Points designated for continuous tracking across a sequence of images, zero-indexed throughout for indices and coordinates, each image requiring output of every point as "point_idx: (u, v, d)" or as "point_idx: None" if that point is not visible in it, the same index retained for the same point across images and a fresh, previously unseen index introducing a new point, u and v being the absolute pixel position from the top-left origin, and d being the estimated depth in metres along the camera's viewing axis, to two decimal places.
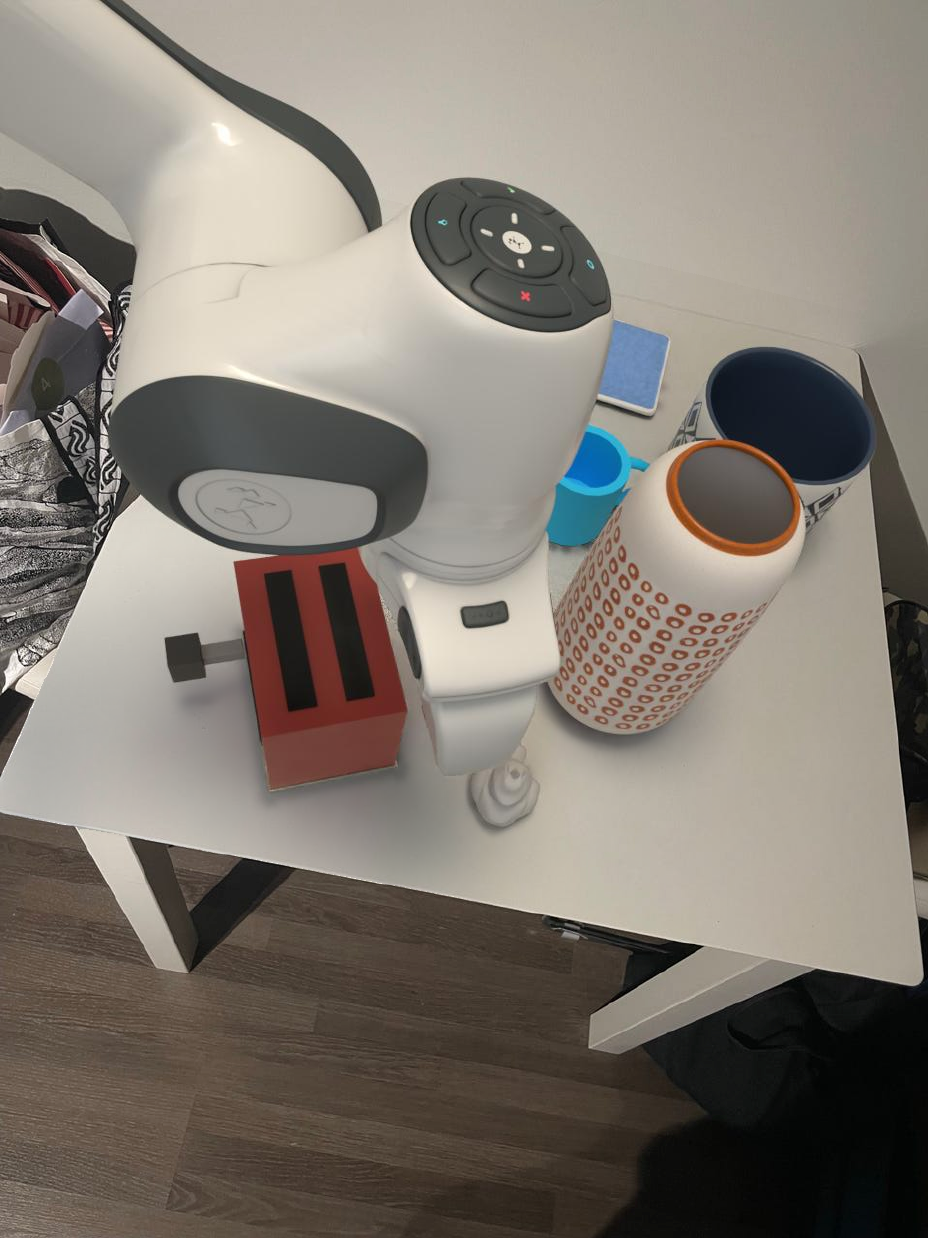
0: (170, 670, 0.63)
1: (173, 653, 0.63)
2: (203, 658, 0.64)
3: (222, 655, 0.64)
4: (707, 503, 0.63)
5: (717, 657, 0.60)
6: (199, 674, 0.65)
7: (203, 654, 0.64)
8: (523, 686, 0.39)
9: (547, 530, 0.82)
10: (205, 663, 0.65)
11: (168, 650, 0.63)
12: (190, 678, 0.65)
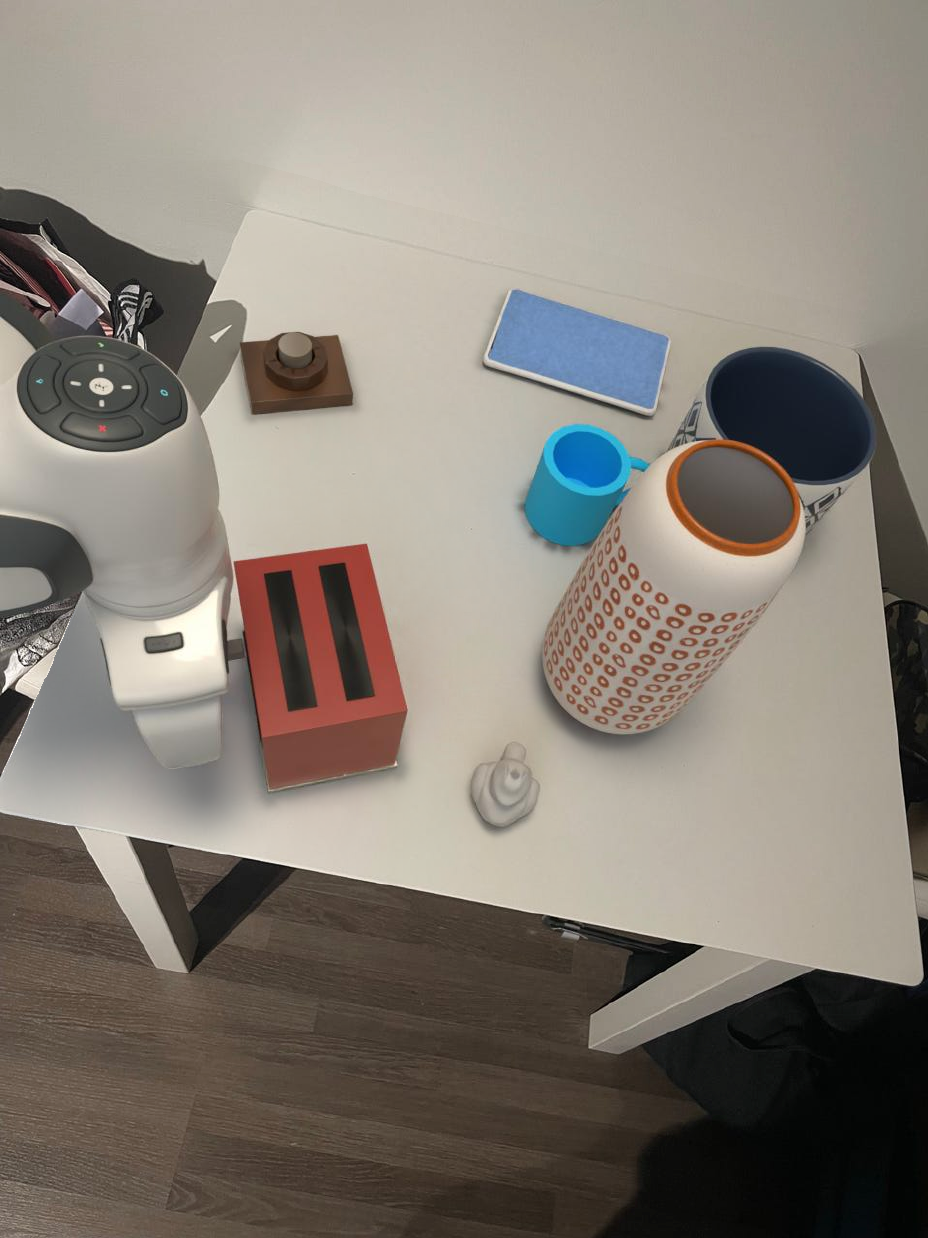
0: None
1: None
2: None
3: None
4: (707, 503, 0.63)
5: (717, 657, 0.60)
6: None
7: None
8: (198, 698, 0.50)
9: (547, 530, 0.82)
10: None
11: None
12: None
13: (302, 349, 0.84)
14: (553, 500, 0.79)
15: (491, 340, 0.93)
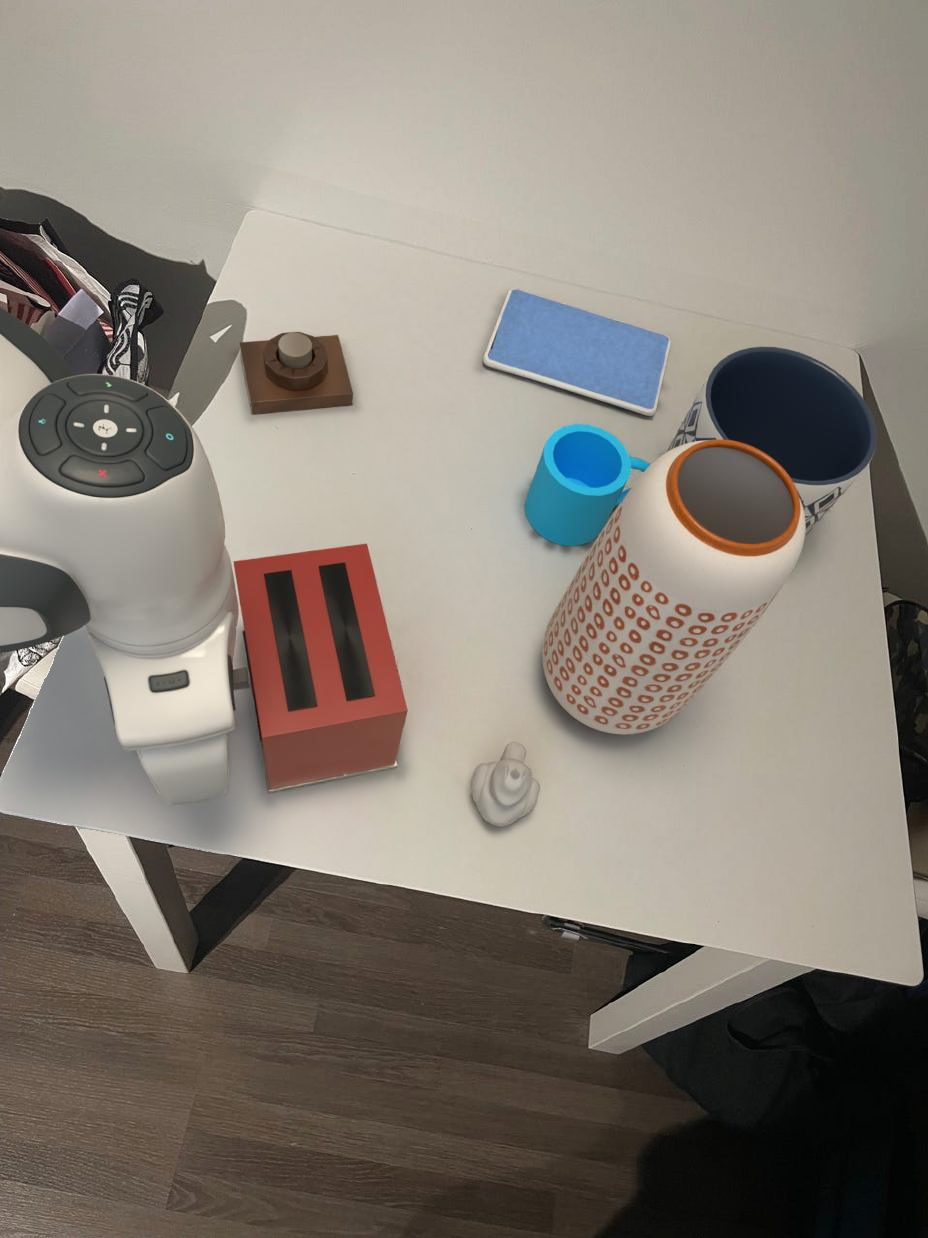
0: None
1: None
2: None
3: None
4: (707, 503, 0.63)
5: (717, 657, 0.60)
6: None
7: None
8: (204, 736, 0.49)
9: (547, 530, 0.82)
10: None
11: None
12: None
13: (302, 349, 0.84)
14: (553, 500, 0.79)
15: (491, 340, 0.93)
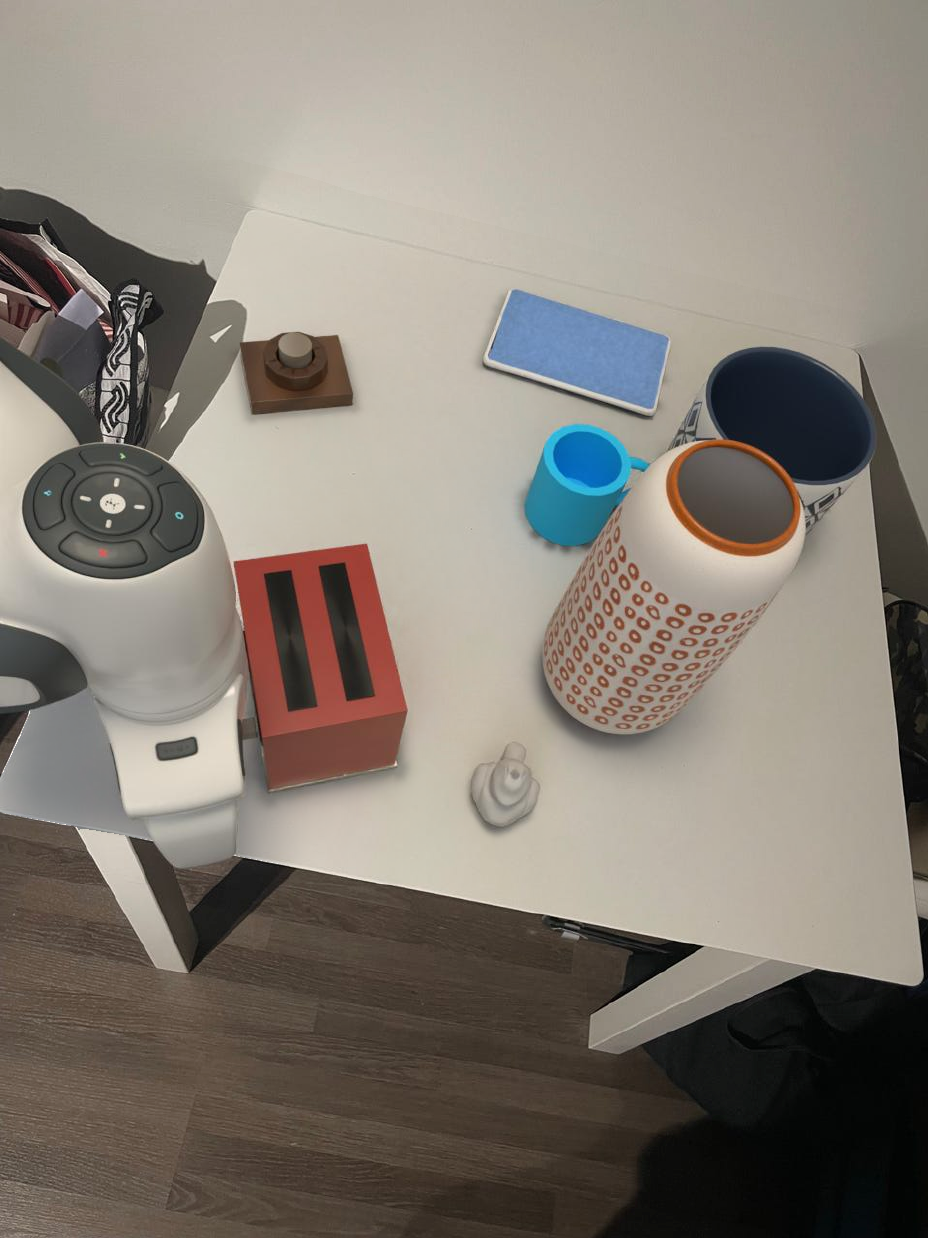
0: None
1: None
2: None
3: None
4: (707, 503, 0.63)
5: (717, 657, 0.60)
6: None
7: None
8: (213, 805, 0.48)
9: (547, 530, 0.82)
10: None
11: None
12: None
13: (302, 349, 0.84)
14: (553, 500, 0.79)
15: (491, 340, 0.93)
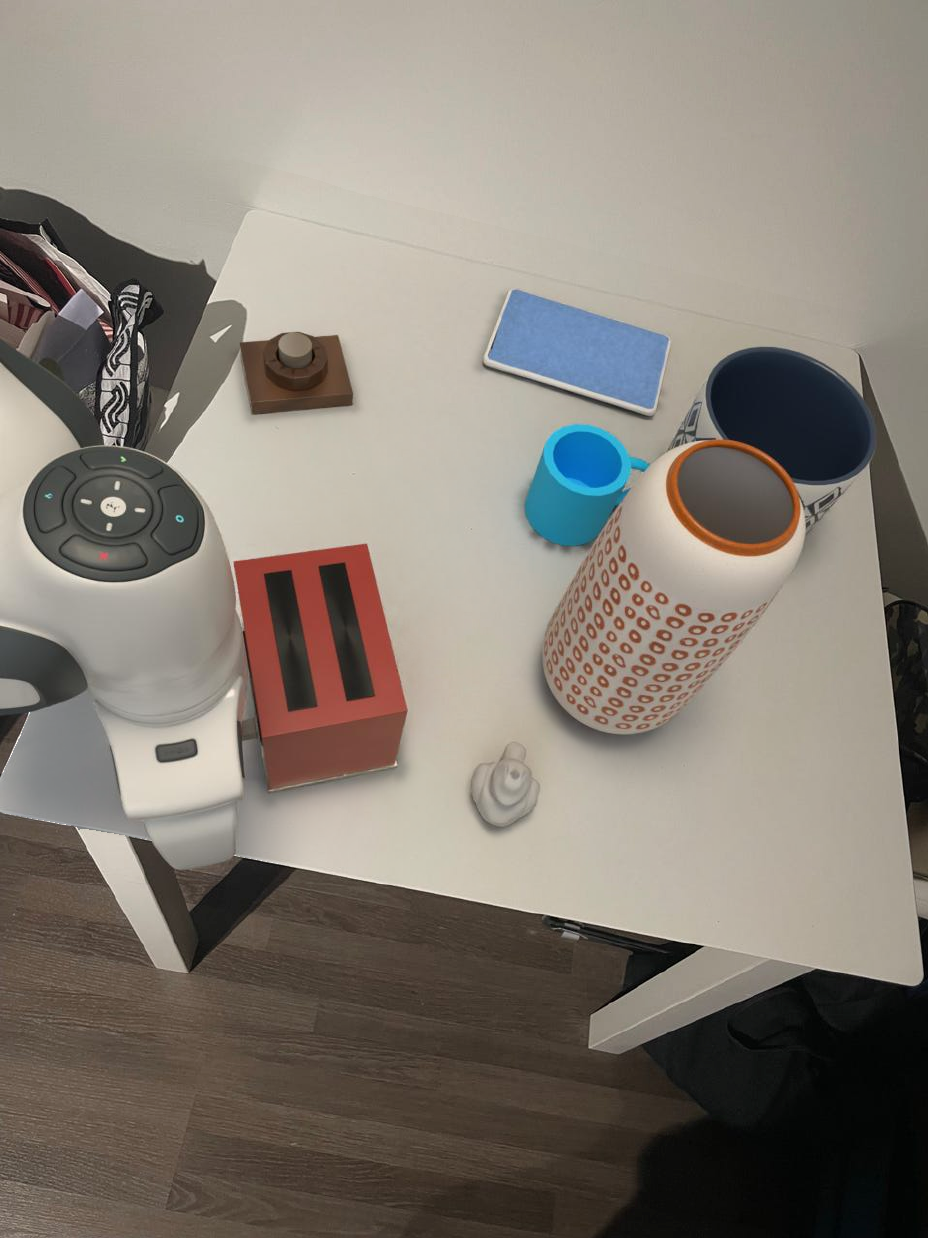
0: None
1: None
2: None
3: None
4: (707, 503, 0.63)
5: (717, 657, 0.60)
6: None
7: None
8: (212, 807, 0.48)
9: (547, 530, 0.82)
10: None
11: None
12: None
13: (302, 349, 0.84)
14: (553, 500, 0.79)
15: (491, 340, 0.93)
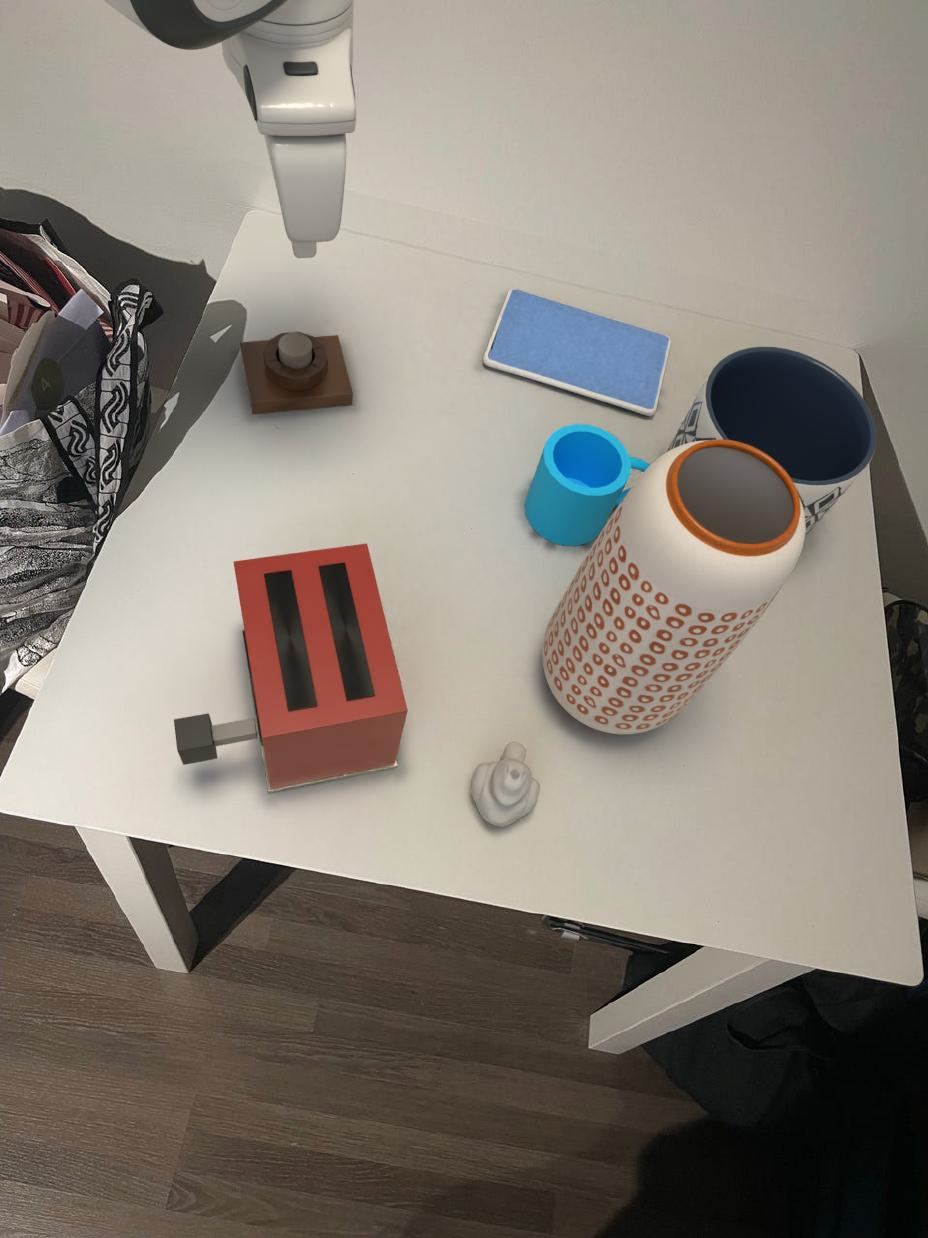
0: (180, 754, 0.60)
1: (183, 736, 0.60)
2: (214, 740, 0.61)
3: (234, 736, 0.61)
4: (707, 503, 0.63)
5: (717, 657, 0.60)
6: (210, 756, 0.62)
7: (214, 736, 0.61)
8: (330, 125, 0.56)
9: (547, 530, 0.82)
10: (216, 744, 0.62)
11: (178, 734, 0.60)
12: (200, 760, 0.62)
13: (302, 349, 0.84)
14: (553, 500, 0.79)
15: (491, 340, 0.93)
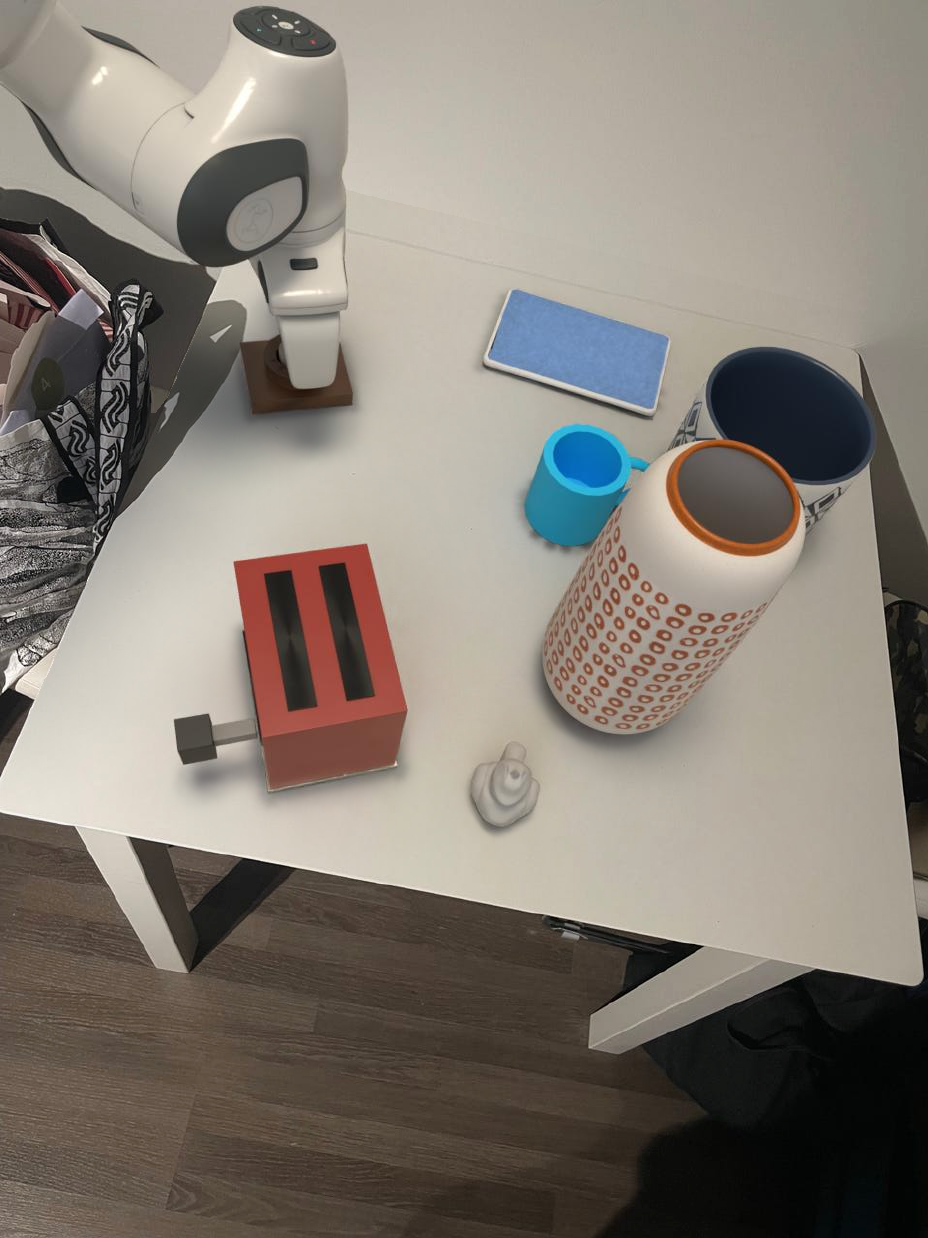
0: (180, 754, 0.60)
1: (183, 736, 0.60)
2: (214, 740, 0.61)
3: (234, 736, 0.61)
4: (707, 503, 0.63)
5: (717, 657, 0.60)
6: (210, 756, 0.62)
7: (214, 736, 0.61)
8: (327, 307, 0.70)
9: (547, 530, 0.82)
10: (216, 744, 0.62)
11: (178, 734, 0.60)
12: (200, 760, 0.62)
13: None
14: (553, 500, 0.79)
15: (491, 340, 0.93)
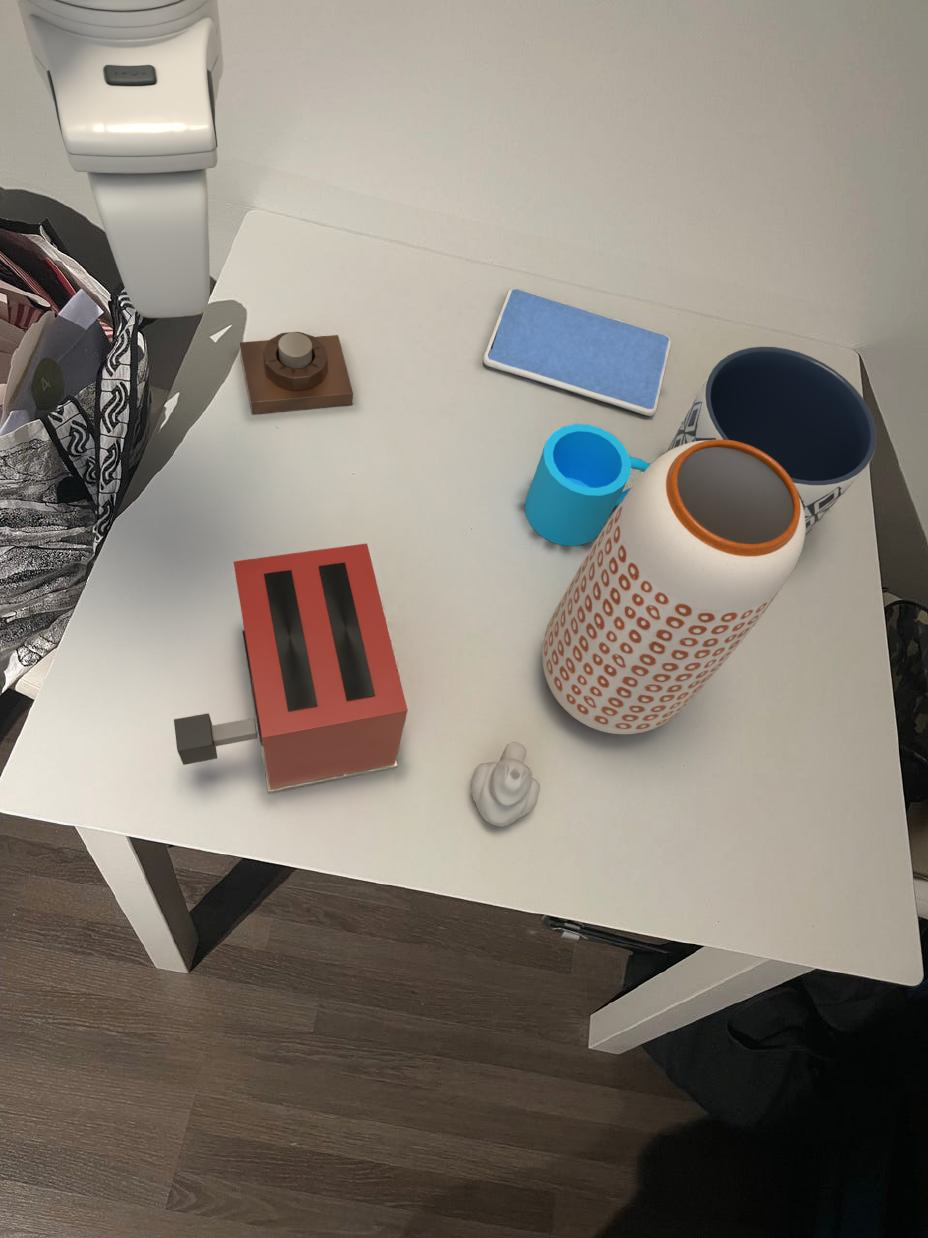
0: (180, 754, 0.60)
1: (183, 736, 0.60)
2: (214, 740, 0.61)
3: (234, 736, 0.61)
4: (707, 503, 0.63)
5: (717, 657, 0.60)
6: (210, 756, 0.62)
7: (214, 736, 0.61)
8: (176, 158, 0.38)
9: (547, 530, 0.82)
10: (216, 744, 0.62)
11: (178, 734, 0.60)
12: (200, 760, 0.62)
13: (302, 349, 0.84)
14: (553, 500, 0.79)
15: (491, 340, 0.93)
